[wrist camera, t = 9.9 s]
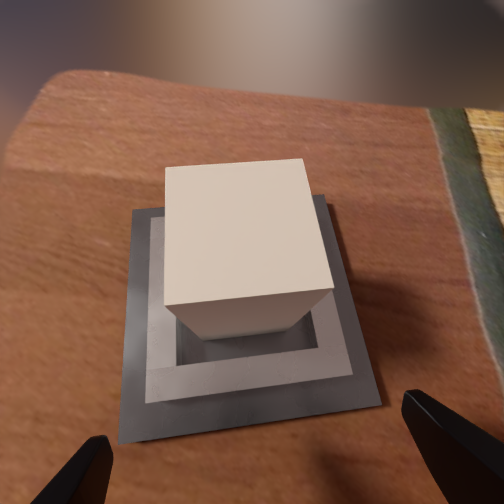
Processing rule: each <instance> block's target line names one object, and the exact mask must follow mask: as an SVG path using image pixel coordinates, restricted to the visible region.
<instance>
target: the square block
mask: <svg viewBox="0 0 504 504" xmlns="http://www.w3.org/2000/svg"><path fill="white" fill-rule="evenodd" d="M333 288H334V284H333V280H332V276H331V272H330V268H329V264H328V260H327V256H326V252H325V248H324V244H323V240H322V236H321V232H320V228H319V224H318V220H317V216H316V212H315V208H314V204H313V200H312V195H311V191H310V187H309V183H308V179H307V175H306V171H305V167H304V163H303V159H288V160H272V161H257V162H241V163H226V164H210V165H195V166H179V167H166V171H165V254H164V306H165V307H166V308H167V309H168V310H169V311H170V312H172V313H173V314H174V315H175V316H176V317H177V318H178V319H179V320H180V321H182V322H183V323H184V324H185V325H186V326H187V327H188V328H189V329H191V330H192V331H193V332H194V333H195V334H196V335H197V336H198V337H199V338H201V339H202V340H203V341H206V340H215V339H223V338H232V337H240V336H249V335H257V334H266V333H274V332H283V331H288V330H289V329H290V328H291V327H292V326H293V325H294V324H295V323H296V322H298V321H299V320H300V319H301V318H302V317H303V316H304V315H305V314H306V313H307V312H308V311H309V310H311V309H312V308H313V307H314V306H315V305H316V304H317V303H318V302H319V301H320V300H321V299H323V298H324V297H325V296H326V295H327V294H328V293H329V292H330V291H331V290H332V289H333Z"/></svg>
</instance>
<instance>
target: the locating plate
mask: <svg viewBox="0 0 504 504" xmlns="http://www.w3.org/2000/svg"><path fill="white" fill-rule="evenodd" d="M312 200H313V204H314V208H315V212H316V216H317V220H318V224H319V228H320V232H321V236H322V240H323V244H324V248H325V252H326V256H327V260H328V264H329V268H330V272H331V276H332V280H333V284H334V288H333V289H332V290H331V291H330V292H329V293H328V294H327V295H326V296H325V297H324V298H323V299H321V300H320V301H319V302H318V303H317V304H316V305H315V306H314V307H313V308H312V309H311V310H309V311H308V312H307V313H306V314H305V315H304V316H303V317H302V318H301V319H300V320H299V321H298V322H296V323H295V324H294V325H293V326H292V327H291V328H290V329H289V330H288V331H283V332H274V333H266V334H257V335H249V336H240V337H232V338H223V339H215V340H206V341H203V340H202V339H201V338H199V337H198V336H197V335H196V334H195V333H194V332H193V331H192V330H191V329H189V328H188V327H187V326H186V325H185V324H184V323H183V322H182V321H180V320H179V319H178V318H177V317H176V316H175V315H174V314H173V313H172V312H170V311H169V310H168V309H167V308H166V307H165V306H164V254H165V207H160V208H148V209H135V210H133V212H132V228H131V244H130V259H129V275H128V291H127V307H126V323H125V339H124V355H123V371H122V387H121V402H120V418H119V434H118V445H119V444H126V443H132V442H139V441H146V440H152V439H159V438H166V437H172V436H179V435H186V434H192V433H199V432H206V431H212V430H219V429H225V428H232V427H239V426H245V425H252V424H259V423H265V422H272V421H279V420H285V419H292V418H299V417H305V416H312V415H319V414H325V413H332V412H339V411H345V410H352V409H358V408H365V407H372V406H378V405H382V403H381V399H380V396H379V392H378V388H377V385H376V381H375V378H374V374H373V370H372V367H371V363H370V359H369V356H368V352H367V349H366V345H365V341H364V338H363V334H362V330H361V327H360V323H359V320H358V316H357V312H356V309H355V305H354V301H353V298H352V294H351V291H350V287H349V283H348V280H347V276H346V272H345V269H344V265H343V262H342V258H341V254H340V251H339V247H338V244H337V240H336V236H335V233H334V229H333V225H332V222H331V218H330V215H329V211H328V207H327V204H326V200H325V196H324V194H323V195H312Z"/></svg>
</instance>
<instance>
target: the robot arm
mask: <svg viewBox="0 0 504 504" xmlns="http://www.w3.org/2000/svg"><path fill="white" fill-rule="evenodd" d="M401 412H402V416H403V419H404V421H405V423H406V425H407V427H408V429H409V431H410V433H411V435H412V437H413V439H414V441H415V443H416V445H417V447H418V449H419V451H420V453H421V455H422V457H423V459H424V461H425V463H426V465H427V467H428V469H429V471H430V473H431V474H432V476H433V478H434V480H435V481H436V483H437V485H438V486H439V488H440V490H441V491H442V493H443V495H444V496H445V498H446V500H447V501H448V503H449V504H504V443H503V442H501V441H500V440H498V439H497V438H495V437H493V436H492V435H490V434H489V433H487V432H486V431H484V430H482V429H481V428H479V427H478V426H476V425H475V424H473V423H471V422H470V421H468V420H467V419H465V418H464V417H462V416H460V415H459V414H457V413H456V412H454V411H453V410H451V409H449V408H448V407H446V406H445V405H443V404H442V403H440V402H438V401H437V400H435V399H434V398H432V397H430V396H429V395H427V394H426V393H424V392H423V391H421V390H418V389H414V390H407V391H405V393H404V397H403V402H402V408H401ZM112 465H113V452H112V449H111V446H110V443H109V440H108V438H107V436H106V435H99V436H93V437H90V438H89V439H88V440H87V441H86V442H85V443H84V444H83V445H82V446H81V447H80V449H79V450H78V451H77V452H76V453H75V454H74V455H73V456H72V458H71V459H70V460H69V461H68V462H67V463H66V464H65V465H64V466H63V468H62V469H61V470H60V471H59V472H58V473H57V474H56V475H55V476H54V478H53V479H52V480H51V481H50V482H49V483H48V484H47V485H46V486H45V488H44V489H43V490H42V491H41V492H40V493H39V494H38V495H37V496H36V498H35V499H34V500H33V501H32V502H31V503H30V504H104V503H105V498H106V493H107V488H108V484H109V479H110V474H111V470H112Z"/></svg>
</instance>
